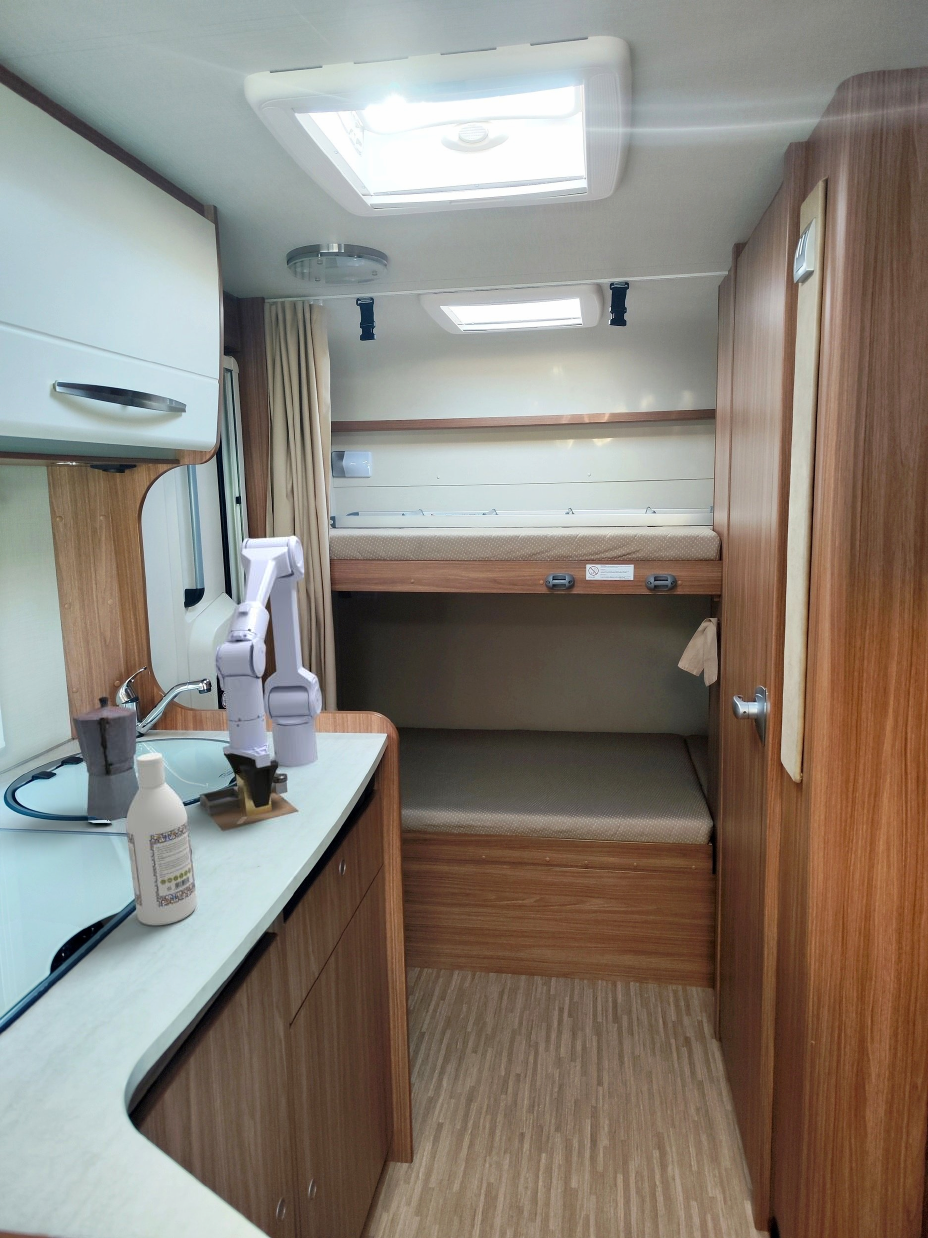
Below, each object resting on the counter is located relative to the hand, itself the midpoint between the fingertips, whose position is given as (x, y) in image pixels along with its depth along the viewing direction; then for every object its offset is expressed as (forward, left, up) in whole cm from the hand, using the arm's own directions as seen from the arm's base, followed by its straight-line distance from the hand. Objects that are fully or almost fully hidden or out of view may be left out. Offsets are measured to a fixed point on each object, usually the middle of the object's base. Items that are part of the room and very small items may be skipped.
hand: (254, 799), depth 126 cm
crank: (-3, +4, -2) cm, 5 cm away
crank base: (-2, 0, -3) cm, 4 cm away
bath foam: (+24, -18, -3) cm, 30 cm away
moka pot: (-15, -18, -3) cm, 24 cm away
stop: (0, 0, -2) cm, 2 cm away
